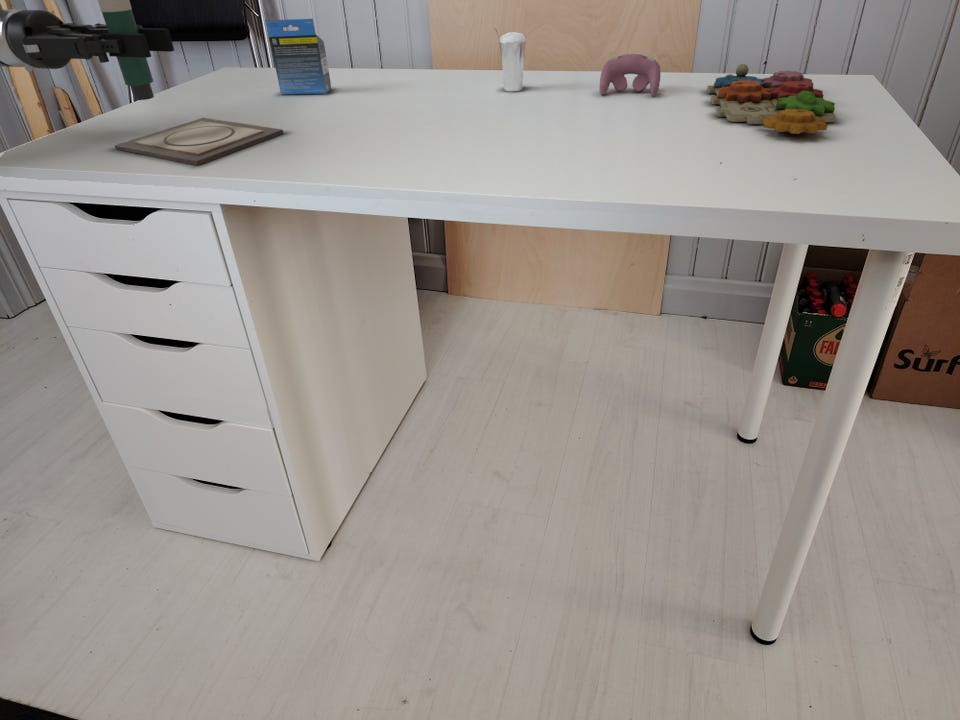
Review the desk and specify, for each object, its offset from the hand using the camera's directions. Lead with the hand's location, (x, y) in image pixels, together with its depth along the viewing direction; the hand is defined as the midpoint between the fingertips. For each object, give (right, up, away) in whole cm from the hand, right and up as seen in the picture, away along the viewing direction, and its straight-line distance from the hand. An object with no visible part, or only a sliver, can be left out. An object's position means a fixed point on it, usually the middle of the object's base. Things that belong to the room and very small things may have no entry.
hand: (157, 42), depth 86 cm
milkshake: (+48, +6, +29) cm, 57 cm away
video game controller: (+68, +3, +24) cm, 72 cm away
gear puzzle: (+86, -5, +11) cm, 87 cm away
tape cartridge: (+11, +8, +34) cm, 37 cm away
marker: (-5, -5, +6) cm, 9 cm away
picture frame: (+1, -9, +10) cm, 14 cm away
